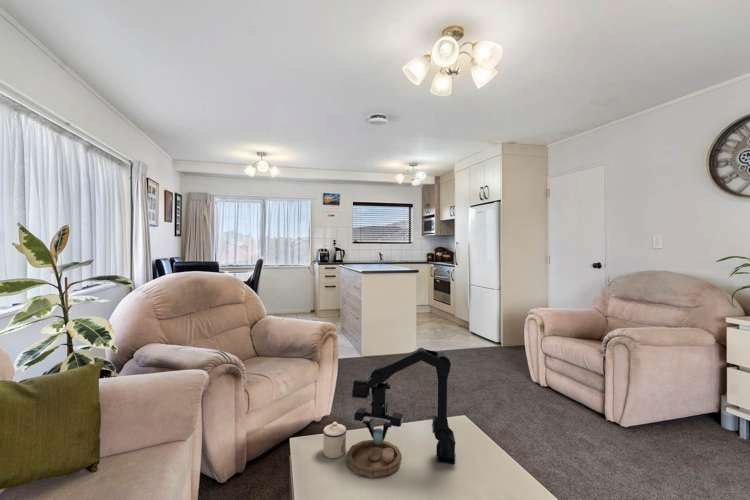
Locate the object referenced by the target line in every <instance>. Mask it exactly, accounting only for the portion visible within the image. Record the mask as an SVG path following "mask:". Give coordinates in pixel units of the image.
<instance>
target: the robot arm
mask: <svg viewBox="0 0 750 500" xmlns="http://www.w3.org/2000/svg"><path fill="white" fill-rule="evenodd" d="M420 362H424V363H426V364H428V365H429V366H432V367H434V368H435V371H436V377H437V378H436V381H437V382H436V385H437V386H436V412H435V413H436V414H435V415H433V414H432V417H431V418H432V420H431V421H432V423H431V429H432V430H431V432H432V434H434V435H433V436H434V439H436V440H437V441H438V442H437V443H436V451H435V453H436V455H435V457H436V458H437V459H436V460H437V462H441V463H445V464H446V463H447V464H451V465H452V464H453V465H454V464H456V457H457V456H456V455H457V454H456V439H455V438H456V437H455V433H454V431H453V430H452V429H451V428H450V427H449V420H448V415H447V414H448V413H447V412H448V411H447V410H448V378H449V374H450V372H451V360H450V357H449V355H448V354H447V353H446V352H444V351H440V352H438V351H435V350H431V349H427V348H423V347H418V348H417V349H416V350H414V351H412V352H410V353H407V354H405V355H403V356H402V357H399V358H397V359H394V360H393V361H390V362H382V363H380V364H377V365H375V366H374V367H373V369H372V371H371V374H370V376H369V377H368V379H367V380H365V379H363V380H362V379H356V378H355V379H354V380H353V385H352V391H351V392H352V393H351V397H352V399H367V400H368V398H369V397H370V396H371V403H370V406H371V412H369V409H368V408H365V407H358V408H357V410H356V411H355V412H354V414H353V420H354V421H357V422H362V423H363V424H364V425H365V426H366V428H367V429H368V431H369V433H370V436H371V438H372V439H373V431H374V430H375V425H374V424H375V421H374V420H381V421H385V422H384V423H383V427H382V428H383V429H382V430H383V440H384V441H385V439H386V436H387V433H388V429H390V428H392V427H398V428H399V427H401V426H402V424H403V422H404V415H403V413H401V412H392V414H388V412H389V410H390V401H388V400H387V390H391V389H392V388H391V387H392V384H391V383H390V382H389V381H388V379H390V378H391V377H392V376H393V375H394V374H395V373H398V372H401V371H402V370H404V369H406V368H409V367H411V366H412V365H415V364H417V363H420Z"/></svg>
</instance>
